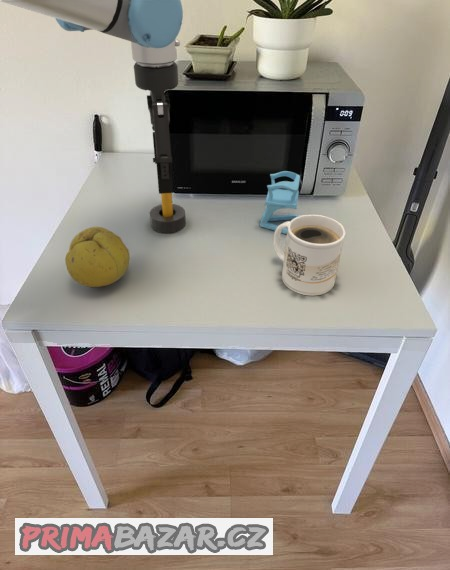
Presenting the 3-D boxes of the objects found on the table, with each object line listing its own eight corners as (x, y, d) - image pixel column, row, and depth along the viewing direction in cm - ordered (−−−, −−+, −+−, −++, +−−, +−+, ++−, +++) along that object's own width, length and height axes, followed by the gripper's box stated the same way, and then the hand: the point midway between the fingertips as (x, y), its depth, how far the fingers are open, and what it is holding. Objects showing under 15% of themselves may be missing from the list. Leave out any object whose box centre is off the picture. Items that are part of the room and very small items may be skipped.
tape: (151, 235, 93) (150, 223, 91) (150, 216, 99) (148, 204, 97) (187, 232, 94) (186, 220, 92) (183, 214, 100) (183, 202, 98)
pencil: (164, 226, 96) (158, 160, 86) (163, 221, 97) (157, 156, 88) (174, 225, 96) (169, 160, 86) (173, 220, 98) (168, 155, 88)
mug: (285, 298, 78) (292, 247, 71) (270, 259, 87) (274, 209, 80) (342, 293, 80) (354, 242, 73) (321, 254, 89) (330, 206, 82)
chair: (262, 214, 101) (266, 164, 93) (299, 218, 99) (306, 168, 92) (257, 232, 95) (261, 180, 87) (296, 236, 94) (304, 185, 86)
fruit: (138, 262, 86) (132, 218, 79) (124, 302, 77) (116, 256, 70) (82, 259, 86) (72, 215, 80) (61, 299, 77) (47, 252, 71)
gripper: (184, 81, 67) (188, 205, 80) (171, 46, 86) (176, 151, 99) (134, 82, 66) (147, 208, 79) (132, 46, 85) (142, 152, 98)
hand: (163, 176), depth 89 cm, fingers open, 13 cm apart
